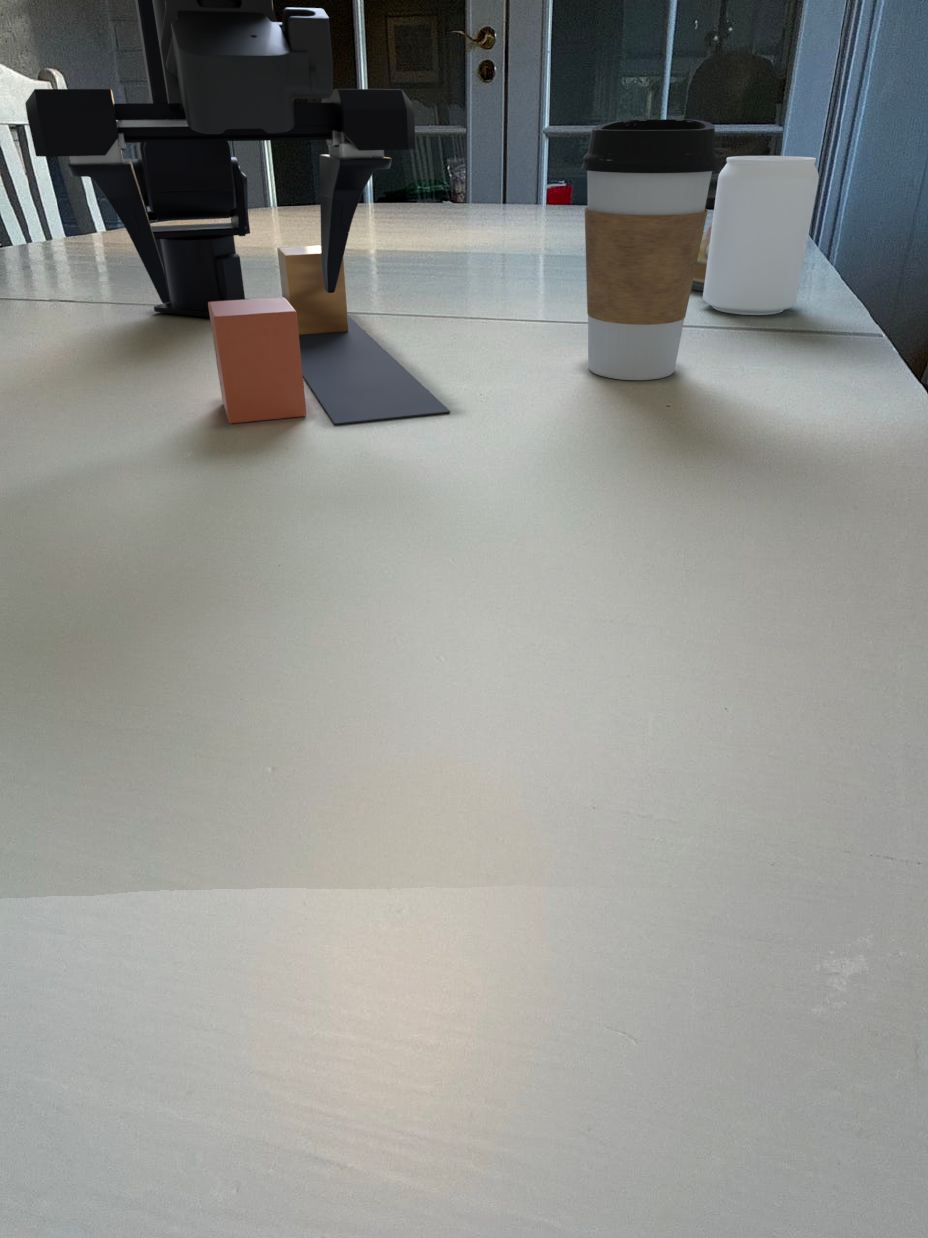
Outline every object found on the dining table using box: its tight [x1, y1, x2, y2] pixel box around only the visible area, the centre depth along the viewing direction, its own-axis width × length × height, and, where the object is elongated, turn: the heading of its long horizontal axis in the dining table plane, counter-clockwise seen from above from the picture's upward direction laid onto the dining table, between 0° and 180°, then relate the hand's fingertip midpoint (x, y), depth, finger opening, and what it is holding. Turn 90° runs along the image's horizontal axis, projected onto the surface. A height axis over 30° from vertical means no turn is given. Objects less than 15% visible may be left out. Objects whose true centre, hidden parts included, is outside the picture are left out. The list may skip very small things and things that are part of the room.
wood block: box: [276, 245, 349, 335], centre depth 70 cm, size 4×4×6 cm
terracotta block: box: [208, 296, 307, 425], centre depth 51 cm, size 4×4×6 cm
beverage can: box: [702, 155, 820, 316], centre depth 75 cm, size 8×8×12 cm
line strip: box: [299, 314, 451, 426], centre depth 63 cm, size 30×7×1 cm, turn 18°
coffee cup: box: [581, 118, 720, 381], centre depth 56 cm, size 8×8×15 cm
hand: (250, 296), depth 49 cm, fingers open, 9 cm apart
